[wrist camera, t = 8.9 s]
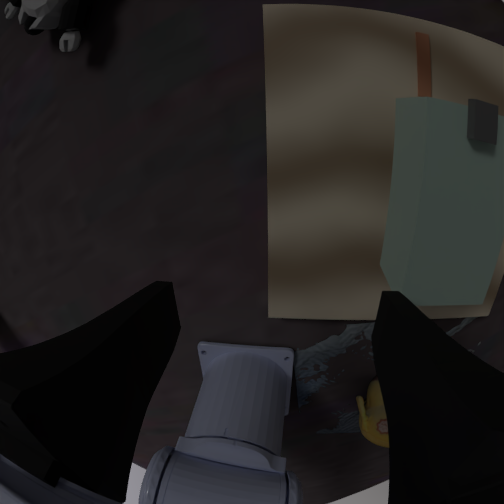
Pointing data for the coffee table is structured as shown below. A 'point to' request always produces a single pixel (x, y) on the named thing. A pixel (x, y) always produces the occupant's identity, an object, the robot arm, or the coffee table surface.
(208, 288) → the coffee table surface
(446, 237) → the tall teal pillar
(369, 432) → the stuffed giraffe
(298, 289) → the base
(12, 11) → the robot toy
